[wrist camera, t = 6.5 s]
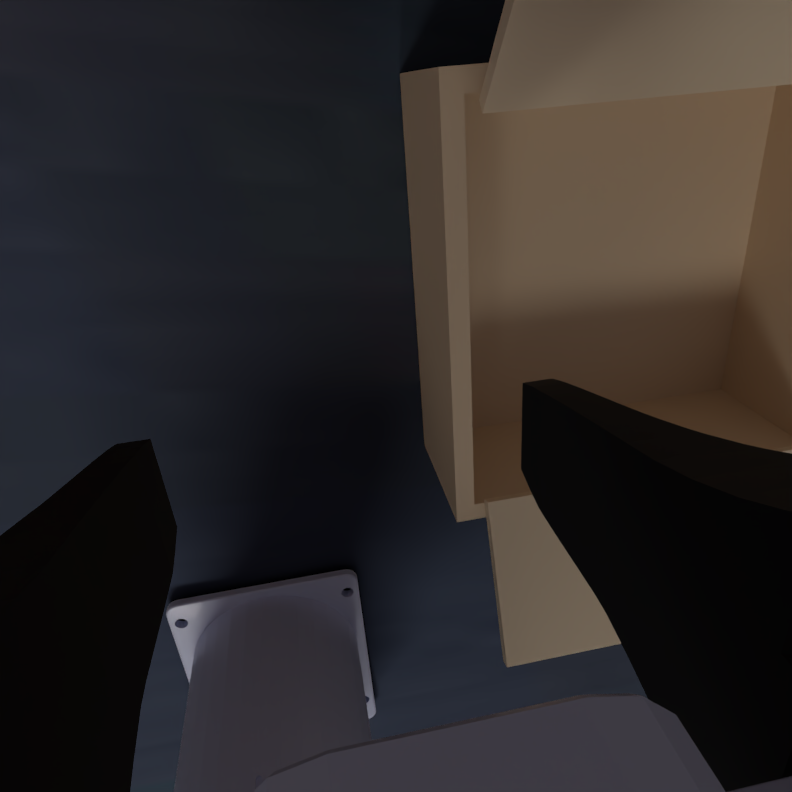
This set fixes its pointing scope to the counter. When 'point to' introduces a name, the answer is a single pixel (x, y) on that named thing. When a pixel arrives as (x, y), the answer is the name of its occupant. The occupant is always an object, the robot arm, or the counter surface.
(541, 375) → the cardboard box
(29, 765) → the robot arm
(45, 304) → the counter surface
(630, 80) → the flap
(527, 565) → the flap
